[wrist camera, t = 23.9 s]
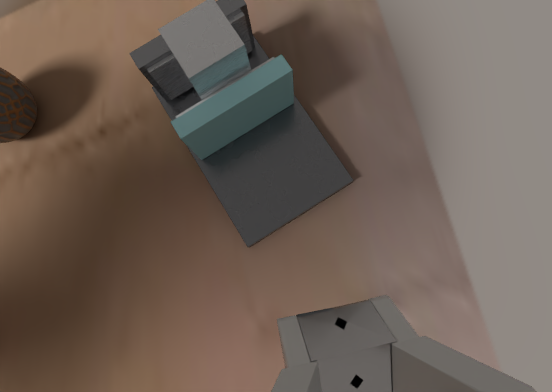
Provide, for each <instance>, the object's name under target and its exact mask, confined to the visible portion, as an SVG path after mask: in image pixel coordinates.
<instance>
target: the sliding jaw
mask: <svg viewBox="0 0 552 392" xmlns="http://www.w3.org/2000/svg"><path fill="white" fill-rule="evenodd" d="M293 103H294V92H293V70H292V68H291V67H290V66H289V64H288V63H287V61H286V60H285V58H284V57H283V56H282V54H281V55H279V56H278V57H276V58H274V57H272V58H270V59H269V60H267V61H265V62H264V63H262V64H261V65H259V66H257V67H256V68H254V69H252V70H251V71H249V72H247V73H246V74H244V75H243V76H241V77H239V78H238V79H236V80H234V81H233V82H231V83H229V84H228V85H226V86H225V87H223V88H221V89H220V90H218V91H216V92H215V93H213V94H211V95H210V96H208V97H207V98H205V99H203V100H202V101H200V102H198V103H197V104H195V105H193V106H192V107H190V108H189V109H187V110H185V111H184V112H182V113H180V114H179V115H177V116H175V117H176V119H175V120H173V121H171V124H172V125H173V127H174V129H175V130H176V132H177V134H178V135H179V137H180V139H181V140H182V141H183V142H184V143H185V144H186V145H187V146H188V147H189V148H190V149H191V150H192V151H193V152H194V153H195V154H196V155H197V156H198V157H199V158H200V159H201V160H203V159H204V158H206V157H208V156H209V155H211V154H213V153H214V152H216V151H217V150H219V149H221V148H222V147H224V146H226V145H227V144H229V143H230V142H232V141H234V140H235V139H237V138H238V137H240V136H242V135H243V134H245V133H247V132H248V131H250V130H251V129H253V128H255V127H256V126H258V125H259V124H261V123H263V122H264V121H266V120H268V119H269V118H271V117H272V116H274V115H276V114H277V113H279V112H281V111H282V110H284V109H285V108H287V107H289V106H290V105H292V104H293Z"/></svg>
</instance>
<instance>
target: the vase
mask: <svg viewBox="0 0 552 392" xmlns="http://www.w3.org/2000/svg"><path fill="white" fill-rule="evenodd" d="M36 116H37V107H36V102H35V100H34V97H33V96H32V94H31V92H30V91H29V90H28V88H27V87H26V86H25V85H24V84H23V83H22V82H21V81H20V80H19V79H18V78H16V77H15V76H14V75H12V74H11V73H9V72H7V71H6V70H4V69H2V68H0V143H6V142H11V141H14V140H17V139H19V138H21V137H23V136H24V135H25V134H27V133H28V132H29V131H30V129H31V128H32V127H33V125H34V123H35V120H36Z"/></svg>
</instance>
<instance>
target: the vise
mask: <svg viewBox="0 0 552 392" xmlns="http://www.w3.org/2000/svg"><path fill="white" fill-rule="evenodd" d="M216 3H217V5H218V6H219V8H220V9H221V11H222V12H223V14H224V15H225V16H226V18H227V19H228V21H229V22H230V24H231V25H232V27H233V28H234V30H235V31H236V33H237V34H238V35H239V37H240V38H241V40H242V41H243V43H244V44H245V48H246V52H247V56H248V59H249V63H250V67H251V70H252V69H254V68H256V67H257V66H259V65H261V64H262V63H264V62H265V61H267V60H269V58H268V56H267V55H266V53H265V52H264V50H263V49H262V47H261V46H260V45H259V43H258V42H257V40H256V39H255V37H254V36H253V34H252V29H251V24H250V19H249V15H248V10H247V5H246V3H245V1H244V0H218V1H216ZM129 54H130V55H131V57H132V59H133V60H134V62H135V64H136V65H137V67H138V69H139V70H140V71H141V72H142V73H143V75H144V76H145V77H146V78H147V79H148V81H149V82H150V83H151V84H152V85H153V86H154V87H152V89H153V90H154V92H155V94H156V95H157V97H158V99H159V100H160V102H161V104H162V105H163V107H164V109H165V110H166V112H167V114H168V115H169V117H170V119H171V120H172V121H173V120H175V119H176V117H175V116H177V115H179V114H180V113H182V112H184V111H185V110H187V109H189V108H190V107H192V106H193V105H195V104H197V103H198V102H200V101H202V100H201V98H200V97H199V95H198V93H197V92H196V90H195V89H194V87H193V85H192V84H191V82H190V80H189V79H188V77H187V76H186V74H185V72H184V71H183V69H182V68H181V66H180V64H179V63H178V61H177V59H176V58H175V56H174V55H173V53H172V51H171V50H170V48H169V47H168V45H167V43H166V42H165V40H164V38H163V37H162V35H159V36H158V37H156V38H154V39H153V40H151V41H149V42H148V43H146V44H144V45H143V46H141V47H139V48H138V49H136V50H134V51H133V52H131V53H129ZM187 147H188V146H187ZM188 149H189V150H190V152H191V153H192V155H193V157H194V158H195V160H196V162H197V163H198V165H199V167H200V168H201V170H202V172H203V173H204V175H205V177H206V178H207V180H208V182H209V183H210V185H211V187H212V188H213V190H214V192H215V193H216V195H217V197H218V198H219V200H220V202H221V203H222V205H223V207H224V208H225V210H226V212H227V213H228V215H229V217H230V218H231V220H232V222H233V223H234V225H235V227H236V228H237V230H238V232H239V233H240V235H241V237H242V238H243V240H244V242H245V243H246V245H247V247H251V246H253V245H254V244H256V243H257V242H259V241H261V240H262V239H264V238H265V237H267V236H268V235H270V234H272V233H273V232H275V231H276V230H278V229H279V228H281V227H283V226H284V225H286V224H287V223H289V222H291V221H292V220H294V219H295V218H297V217H298V216H300V215H302V214H303V213H305V212H306V211H308V210H310V209H311V208H313V207H314V206H316V205H317V204H319V203H321V202H322V201H324V200H325V199H327V198H328V197H330V196H332V195H333V194H335V193H336V192H338V191H340V190H341V189H343V188H344V187H346V186H347V185H349V184H351V183H352V182H353V179H352V177H351V176H350V175H349V173H348V172H347V170H346V169H345V167H344V166H343V164H342V163H341V162H340V160H339V159H338V157H337V156H336V154H335V153H334V151H333V150H332V149H331V147H330V146H329V144H328V143H327V141H326V140H325V138H324V137H323V136H322V134H321V133H320V131H319V130H318V128H317V127H316V125H315V124H314V123H313V121H312V120H311V118H310V117H309V115H308V114H307V112H306V111H305V110H304V108H303V107H302V105H301V104H300V102H299V101H298V99H297V98H296V97H295V95H294V103H293V104H292V105H290V106H289V107H287V108H285V109H284V110H282V111H281V112H279V113H277V114H276V115H274V116H272V117H271V118H269V119H268V120H266V121H264V122H263V123H261V124H259V125H258V126H256V127H255V128H253V129H251V130H250V131H248V132H247V133H245V134H243V135H242V136H240V137H238V138H237V139H235V140H234V141H232V142H230V143H229V144H227V145H226V146H224V147H222V148H221V149H219V150H217V151H216V152H214V153H213V154H211V155H209V156H208V157H206V158H204V159H203V160H201V159H200V158H199V157H198V156H197V155H196V154H195V153H194V152H193V151H192V150H191V149H190V148H189V147H188Z"/></svg>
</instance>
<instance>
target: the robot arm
mask: <svg viewBox="0 0 552 392" xmlns="http://www.w3.org/2000/svg"><path fill="white" fill-rule="evenodd" d="M277 324H278V330H279V335H280V341H281V347H282V353H283V358H284V364H285V369H282V370H281V372H280V374H279V376H278V378H277V380H276V383H275V385H274V387H273V389H272V391H271V392H536V391H535V390H534V389H533V388H532V386H530V385H528V384H525V383H523V382H521V381H519V380H517V379H515V378H513V377H511V376H509V375H506V374H504V373H502V372H500V371H498V370H496V369H494V368H492V367H490V366H487V365H485V364H483V363H481V362H479V361H477V360H475V359H473V358H471V357H469V356H466V355H464V354H462V353H460V352H458V351H456V350H454V349H452V348H450V347H447V346H445V345H443V344H441V343H439V342H437V341H435V340H433V339H431V338H428V337H426V336H422V337H419V336H418V335H417V333H416V332H415V331H414V329H413V328H412V327H411V325H410V324H409V323H408V321H407V320H406V319H405V317H404V316H403V315H402V313H401V312H400V311H399V309H398V308H397V307H396V305H395V304H394V302H393V301H392V300H391V298H390V297H389V296H387V295H383V296H379V297H375V298H371V299H368V300H364V301H360V302H356V303H351V304H347V305H343V306H338V307H334V308H329V309H323V310H318V311H313V312H308V313H303V314H298V315H296V316H295V315H294V316H289V317H285V318H280V319H277Z"/></svg>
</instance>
